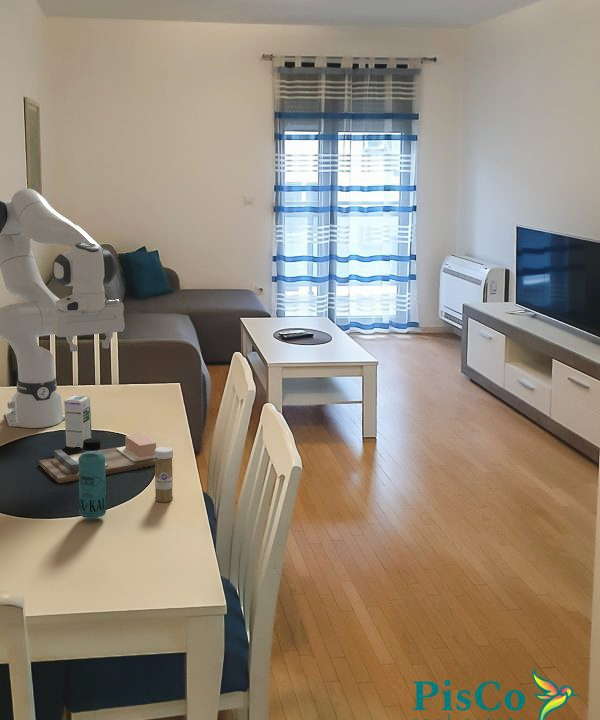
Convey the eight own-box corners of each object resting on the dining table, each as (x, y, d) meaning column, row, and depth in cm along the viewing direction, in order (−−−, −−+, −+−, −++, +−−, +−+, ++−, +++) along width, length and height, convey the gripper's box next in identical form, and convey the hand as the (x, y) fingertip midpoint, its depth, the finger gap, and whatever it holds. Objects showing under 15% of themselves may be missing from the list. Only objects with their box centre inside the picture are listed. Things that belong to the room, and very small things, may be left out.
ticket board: (39, 465, 252) (38, 451, 251) (132, 449, 267) (132, 436, 266) (58, 483, 239) (58, 469, 238) (156, 465, 254) (155, 451, 253)
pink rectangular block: (116, 449, 262) (115, 436, 261) (141, 445, 266) (141, 432, 265) (133, 461, 252) (132, 448, 251) (159, 457, 257) (159, 443, 256)
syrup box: (84, 448, 267) (82, 401, 264) (65, 446, 268) (63, 399, 265) (92, 442, 272) (90, 396, 269) (73, 441, 273) (72, 394, 270)
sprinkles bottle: (157, 503, 227) (157, 452, 224) (152, 497, 231) (152, 447, 228) (175, 501, 229) (175, 450, 226) (170, 495, 233) (169, 445, 230)
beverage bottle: (81, 514, 219) (78, 435, 215) (109, 513, 220) (107, 435, 215) (77, 524, 213) (74, 443, 209) (105, 524, 214) (103, 443, 209)
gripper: (119, 297, 262) (119, 343, 266) (49, 302, 251) (51, 350, 254) (127, 300, 257) (128, 348, 261) (57, 305, 246) (59, 355, 249)
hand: (89, 349), depth 257 cm, fingers open, 8 cm apart
